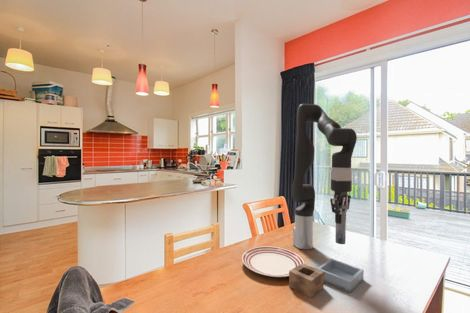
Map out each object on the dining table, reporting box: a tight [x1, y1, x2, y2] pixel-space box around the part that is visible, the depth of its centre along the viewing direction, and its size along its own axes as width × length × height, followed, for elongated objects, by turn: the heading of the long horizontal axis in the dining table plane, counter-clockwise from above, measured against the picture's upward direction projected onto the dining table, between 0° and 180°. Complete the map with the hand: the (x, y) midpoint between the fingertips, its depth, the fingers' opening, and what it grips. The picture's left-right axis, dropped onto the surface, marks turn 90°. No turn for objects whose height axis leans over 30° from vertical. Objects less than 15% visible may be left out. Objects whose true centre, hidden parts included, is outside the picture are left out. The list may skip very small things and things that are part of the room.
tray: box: [316, 258, 364, 294], centre depth 92 cm, size 13×13×4 cm
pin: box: [335, 204, 348, 245], centre depth 92 cm, size 5×5×15 cm
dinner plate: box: [241, 245, 306, 278], centre depth 103 cm, size 27×27×3 cm
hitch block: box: [288, 263, 325, 299], centre depth 86 cm, size 9×9×6 cm
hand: (340, 221), depth 92 cm, fingers closed on pin, 3 cm apart
